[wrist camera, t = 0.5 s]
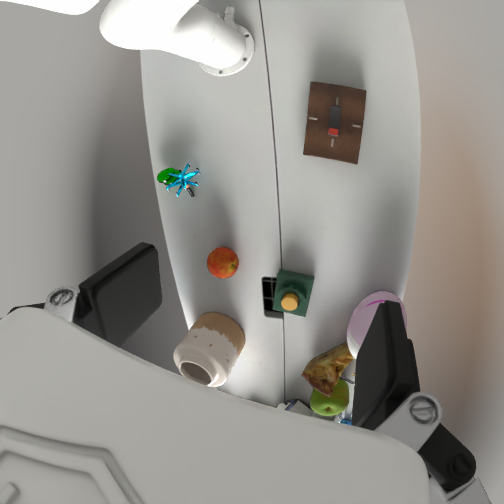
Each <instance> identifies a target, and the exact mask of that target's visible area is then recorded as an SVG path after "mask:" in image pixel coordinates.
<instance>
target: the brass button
mask: <svg viewBox="0 0 504 504" xmlns="http://www.w3.org/2000/svg"><path fill="white" fill-rule="evenodd" d="M298 302H299V299H298V297H297V296H296V295H295V294H292V293H287V294H285V295H284V296H283V299H282V302H281V305H282V307H283V308H284V309H286V310H288V311H292V310H295V309H296V308H297V306H298Z"/></svg>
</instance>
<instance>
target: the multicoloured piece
mask: <svg viewBox="0 0 504 504" xmlns="http://www.w3.org/2000/svg"><path fill="white" fill-rule="evenodd" d="M188 167H190V165H189V164H187V165H186V167H185V168H184V170H183V172H182V171H181V170H174V169H173V168H167V169H165V170H163V171H161V172H160V173H159V174H158V176H157V180H158V181H159V182H160V183H164V184H165V185H167V187H166V189H167V191H169V188H170V187H173V186H177V185H180V184H181V186H180V188H179V190H178V192H176V193H175V194H176V195H177V196H179V194H180V192H181V190H182V188H183V187H184V188H185V190H188V192H189V194H190V195H191V197H194V196H195V195H194V193H193V192H192V190H191V188H190V187H189V186H190V185H195V186H198V184H197V182H195V183H193V182H190V181H188V180H189V179H191V178H192V177H193V176H194V175H196V174H197V173H198V174H199V175H200V172H199V169H198V168H196V169H197V171H195V172H191V173H187V174H185V173H186V170H187V168H188ZM188 176H189V177H188ZM185 177H187V178H186V179H185ZM179 180H181V181H180V182H178V181H179Z"/></svg>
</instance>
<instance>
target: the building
mask: <svg viewBox="0 0 504 504" xmlns="http://www.w3.org/2000/svg"><path fill="white" fill-rule="evenodd" d="M297 400H298V399H297ZM297 400H296V401H294V400H293V399H292V400H291V402H288V403H287V402H284V403H281V404H279V405H278V407H277V408H278V409H282V410H286V411H290V412H294V413H297V414H302V415H306V416H310V417H311V415H312V413H313V411H312V410H310V409H309V408H308V407H307V406H305V405H304V404H303V403H302V402H300V401H299V400H298V401H297Z"/></svg>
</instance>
